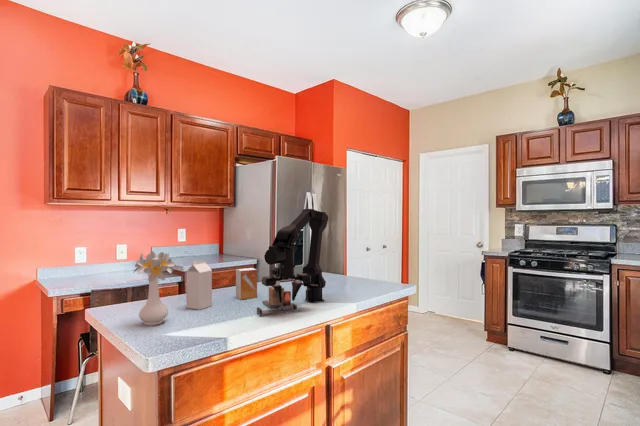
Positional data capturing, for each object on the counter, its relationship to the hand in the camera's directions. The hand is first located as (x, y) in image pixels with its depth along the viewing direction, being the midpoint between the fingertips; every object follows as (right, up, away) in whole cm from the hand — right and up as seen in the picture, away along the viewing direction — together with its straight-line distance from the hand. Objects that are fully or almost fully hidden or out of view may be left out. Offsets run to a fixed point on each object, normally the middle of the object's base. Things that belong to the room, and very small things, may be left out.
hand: (286, 301), depth 141 cm
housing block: (-5, -3, +11) cm, 12 cm away
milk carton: (-37, -4, +7) cm, 38 cm away
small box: (-21, -4, +24) cm, 32 cm away
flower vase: (-45, -4, -14) cm, 47 cm away
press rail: (-4, -4, -2) cm, 6 cm away
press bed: (-5, -4, +11) cm, 13 cm away
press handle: (0, -3, 0) cm, 3 cm away
